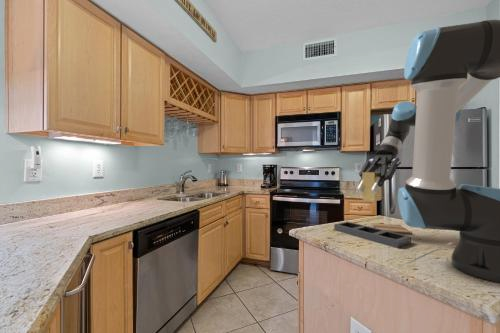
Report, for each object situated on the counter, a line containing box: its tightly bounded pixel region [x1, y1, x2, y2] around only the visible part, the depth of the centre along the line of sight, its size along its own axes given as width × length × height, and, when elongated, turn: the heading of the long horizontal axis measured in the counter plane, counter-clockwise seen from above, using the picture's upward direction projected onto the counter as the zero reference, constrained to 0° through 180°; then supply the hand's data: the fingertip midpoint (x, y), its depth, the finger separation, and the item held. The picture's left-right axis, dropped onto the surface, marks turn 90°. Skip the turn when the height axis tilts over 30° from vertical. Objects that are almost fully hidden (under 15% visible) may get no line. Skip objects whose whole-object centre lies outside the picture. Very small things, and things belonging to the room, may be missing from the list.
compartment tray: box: [333, 221, 412, 249], centre depth 94 cm, size 26×9×3 cm, turn 32°
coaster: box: [370, 223, 413, 236], centre depth 102 cm, size 12×12×2 cm
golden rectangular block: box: [361, 171, 383, 202], centre depth 95 cm, size 5×5×11 cm
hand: (366, 191), depth 93 cm, fingers closed on golden rectangular block, 5 cm apart
